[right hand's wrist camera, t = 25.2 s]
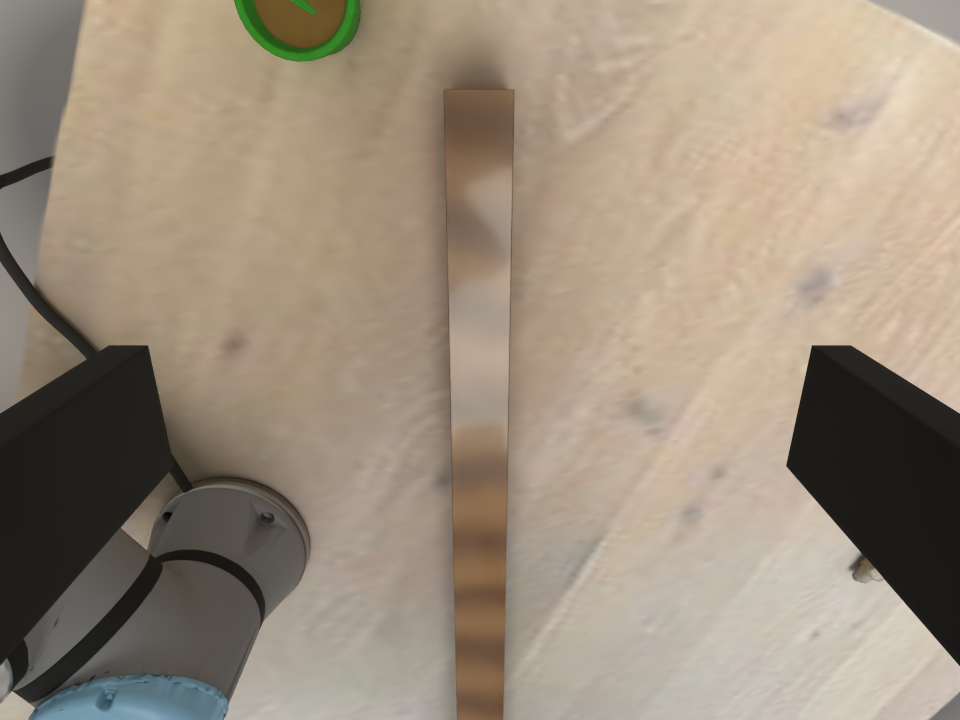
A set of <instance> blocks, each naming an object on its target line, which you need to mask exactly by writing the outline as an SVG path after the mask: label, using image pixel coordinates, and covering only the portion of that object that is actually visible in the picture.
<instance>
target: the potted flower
mask: <svg viewBox="0 0 960 720" xmlns="http://www.w3.org/2000/svg"><path fill="white" fill-rule="evenodd" d="M234 2H235V5H236V8H237V11H238V14H239V17H240V19H241V21H242V23H243V24H244V26H245V28H246V30H247V31H248V32H249V33H250V35H251V36H252V37H253V39H254V40H255V41H256V42H257V43H259V44H260V45H261V46H262V47H263V48H264V49H266V50H267V51H269V52H270V53H272V54H274V55H276V56H278V57H281V58H283V59H286V60H292V61H312V60H316V59H319V58H323V57H325V56H327V55H331V54H334V53H337V52H339V51H340V50H342V49H343V48H345V47H346V46H347V45H348V44H349V43H350V42H351V40H352V39H353V38H354V35H355V33H356V31H357V29H358V25H359V21H360V3H359V0H234Z"/></svg>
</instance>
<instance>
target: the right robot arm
mask: <svg viewBox="0 0 960 720" xmlns="http://www.w3.org/2000/svg"><path fill="white" fill-rule="evenodd" d="M54 157H55V155H54V156H50V157H47V158H44V159H41V160H38V161H35V162H32V163H30V164H27V165H25V166H23V167H20V168H18V169H16V170H13V171H11V172H8V173H5V174H2V175H0V189H2V188H3V187H6V186H8V185H11V184H14V183H16V182H19V181H21V180H23V179H25V178H27V177H30V176H32V175H34V174H36V173H39V172H41V171H44V170H47V169H49V168H53V164H54ZM0 262H1V263H2V265H3V266H4V267H5V269H6V270H7V272H8V273H9V275H10V276H11V277H12V279H13V280H14V282H15V283H16V284H17V286H18V287H19V288H20V290H21V291H22V293H23V294H24V295H25V297H26V298H27V299H28V301H29V302H30V303H31V304H32V305H33V307H34V308H35V309H36V310H37V311H38V312H39V313H40V314H41V315H42V316H43V317H44V318H45V319H46V320H47V321H48V322H49V323H50V324H51V325H52V326H53V327H54V328H55V329H57V330H58V331H59V332H60V333H61V334H62V335H63V336H64V337H66V338H67V339H68V340H69V341H70V342H71V343H72V344H73V345H74V346H75V347H76V348H77V349H78V350H79V351H80V352H81V353H82V354H83V355H84V356H85V357H86V358H87V360H85V361H84V362H82V363H80V364H79V365H77V366H76V367H74V368H72V369H71V370H69V371H68V372H66V373H64V374H63V375H61V376H60V377H58V378H56V379H55V380H53V381H52V382H50V383H48V384H47V385H45V386H44V387H42V388H40V389H39V390H37V391H36V392H34V393H32V394H31V395H29V396H28V397H26V398H25V399H23V400H21V401H20V402H18V403H17V404H15V405H13V406H12V407H10V408H9V409H7V410H5V411H4V412H2V413H1V414H0V703H2V702H3V700H4V699H5V698H6V697H7V696H8V695H9V693H10V692H11V691H13V692H14V693H16V694H17V695H19V696H20V697H21V698H23V699H24V700H26V701H27V702H28V703H29V704H31V705H32V706H34V707H35V709H34V711H33V713H32V714H31V715H30V717H29V720H224V718H225V716H226V714H227V712H228V705H229V702H230V700H231V697H232V695H233V693H234V690H235V688H236V685H237V683H238V680H239V678H240V676H241V673H242V671H243V668H244V666H245V664H246V661H247V659H248V656H249V654H250V652H251V649H252V647H253V644H254V642H255V640H256V637H257V635H258V632H259V630H260V628H261V625H262V623H263V621H264V620H265V619H266V618H267V617H268V616H269V614H270V613H271V612H272V611H273V610H274V609H275V608H276V607H277V606H278V605H279V604H280V603H281V602H282V600H283V599H285V598H286V597H287V596H288V595H289V594H290V593H291V592H292V591H293V590H294V589H295V587H296V586H297V585H298V583H299V581H300V580H301V578H302V575H303V573H304V570H305V568H306V565H307V562H308V559H309V554H310V541H309V535H308V532H307V529H306V527H305V524H304V522H303V520H302V519H301V517H300V516H299V514H298V513H297V511H296V510H295V509H294V508H293V507H292V506H291V505H290V504H289V503H288V502H287V501H286V500H285V499H284V498H282V497H281V496H280V495H278V494H277V493H275V492H274V491H272V490H270V489H268V488H266V487H264V486H262V485H260V484H257V483H254V482H251V481H247V480H243V479H237V478H225V477H223V478H211V479H205V480H201V481H198V482H195V483H193V484H191V483H190V482H189V480H188V479H187V477H186V476H185V474H184V473H183V471H182V470H181V468H180V467H179V465H178V464H177V462H176V460H175V459H174V457H173V456H172V454H171V451H170V446H169V442H168V437H167V432H166V428H165V423H164V418H163V414H162V409H161V404H160V400H159V395H158V390H157V386H156V381H155V376H154V372H153V367H152V362H151V358H150V353H149V348H148V346H108V347H106V348H104V349H103V350H101V351H100V352H98V353H97V352H96V351H95V350H94V349H93V348H92V347H91V345H90V344H89V343H88V342H87V341H86V340H85V339H84V338H83V337H82V336H81V335H79V334H78V333H77V332H76V331H75V330H74V329H73V328H72V327H71V326H70V325H68V324H67V323H66V322H65V321H64V320H63V319H62V318H61V317H60V316H59V315H57V314H56V313H55V312H54V311H53V310H52V309H51V308H50V307H49V305H48V304H47V303H46V302H45V301H44V300H43V299H42V297H41V296H40V295H39V293H38V292H37V291H36V289H35V288H34V287H33V285H32V284H31V282H30V281H29V280H28V278H27V277H26V275H25V274H24V273H23V271H22V270H21V268H20V267H19V265H18V264H17V262H16V261H15V259H14V258H13V256H12V255H11V253H10V251H9V250H8V248H7V246H6V244H5V242H4V240H3V238H2V236H1V233H0ZM786 466H787V467H788V469H789V470H790V471H791V472H792V473H793V474H794V476H795V477H796V478H797V479H798V480H799V481H800V482H801V484H802V485H803V486H804V487H805V488H806V489H807V491H808V492H809V493H810V494H811V495H812V496H813V497H814V499H815V500H816V501H817V502H818V503H819V504H820V506H821V507H822V508H823V509H824V510H825V511H826V512H827V514H828V515H829V516H830V517H831V518H832V519H833V520H834V522H835V523H836V524H837V525H838V526H839V527H840V529H841V530H842V531H843V532H844V533H845V534H846V535H847V537H848V538H849V539H850V540H851V541H852V542H853V544H854V545H855V546H856V547H857V548H858V549H859V550H860V552H861V553H862V554H863V555H864V556H865V557H866V558H867V560H868V561H869V562H870V563H871V564H872V565H873V567H874V568H875V569H876V570H877V571H878V572H879V573H880V575H881V576H882V577H883V578H884V579H885V580H886V582H887V583H888V584H889V585H890V586H891V587H892V588H893V590H894V591H895V592H896V593H897V594H898V595H899V596H900V598H901V599H902V600H903V601H904V602H905V603H906V605H907V606H908V607H909V608H910V609H911V610H912V611H913V613H914V614H915V615H916V616H917V617H918V618H919V620H920V621H921V622H922V623H923V624H924V625H925V626H926V628H927V629H928V630H929V631H930V632H931V633H932V634H933V636H934V637H935V638H936V639H937V640H938V641H939V643H940V644H941V645H942V646H943V647H944V648H945V649H946V651H947V652H948V653H949V654H950V655H951V656H952V658H953V659H954V660H955V661H956V662H957V663H958V664H959V666H960V414H959V413H958V412H956V411H955V410H953V409H951V408H950V407H948V406H947V405H945V404H943V403H942V402H940V401H939V400H937V399H935V398H934V397H932V396H931V395H929V394H928V393H926V392H924V391H923V390H921V389H920V388H918V387H916V386H915V385H913V384H912V383H910V382H908V381H907V380H905V379H904V378H902V377H900V376H899V375H897V374H896V373H894V372H892V371H891V370H889V369H888V368H886V367H884V366H883V365H881V364H880V363H878V362H876V361H875V360H873V359H872V358H870V357H868V356H867V355H865V354H864V353H862V352H860V351H859V350H857V349H856V348H854V347H852V346H812V348H811V353H810V358H809V362H808V367H807V372H806V376H805V381H804V386H803V390H802V395H801V400H800V404H799V409H798V414H797V418H796V423H795V428H794V432H793V437H792V442H791V446H790V451H789V456H788V460H787V465H786ZM168 472H170V473H171V475H172V476H173V478H174V479H175V481H176V482H177V484H178V485H179V487H180V488H181V490H180V491H179V492H178V493H176V494H175V495H174V496H173V497H172V498H171V500H170V501H169V502H168V503H167V504H166V506H165V507H164V508H163V509H162V511H161V512H160V514H159V515H158V517H157V519H156V521H155V523H154V526H153V529H152V533H151V537H150V541H149V545H148V549H147V550H146V549H145V548H143V547H142V546H141V545H140V544H139V543H138V542H136V541H135V540H134V539H133V538H132V537H131V536H129V535H128V534H127V533H126V532H125V531H124V530H122V529H121V528H120V527H121V526H122V525H123V524H124V523H125V522H126V520H127V519H128V518H129V517H130V516H131V515H132V514H133V512H134V511H135V510H136V509H137V508H138V507H139V506H140V504H141V503H142V502H143V501H144V500H145V499H146V497H147V496H148V495H149V494H150V493H151V492H152V491H153V489H154V488H155V487H156V486H157V485H158V484H159V482H160V481H161V480H162V479H163V478H164V477H165V476H166V474H167V473H168Z"/></svg>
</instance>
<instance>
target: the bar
mask: <svg viewBox="0 0 960 720" xmlns="http://www.w3.org/2000/svg"><path fill="white" fill-rule="evenodd" d="M444 128H445V174H446V221H447V268H448V315H449V362H450V409H451V456H452V503H453V550H454V596H455V643H456V690H457V720H503V696H504V641H505V585H506V529H507V474H508V418H509V362H510V307H511V251H512V195H513V140H514V90H444Z"/></svg>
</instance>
